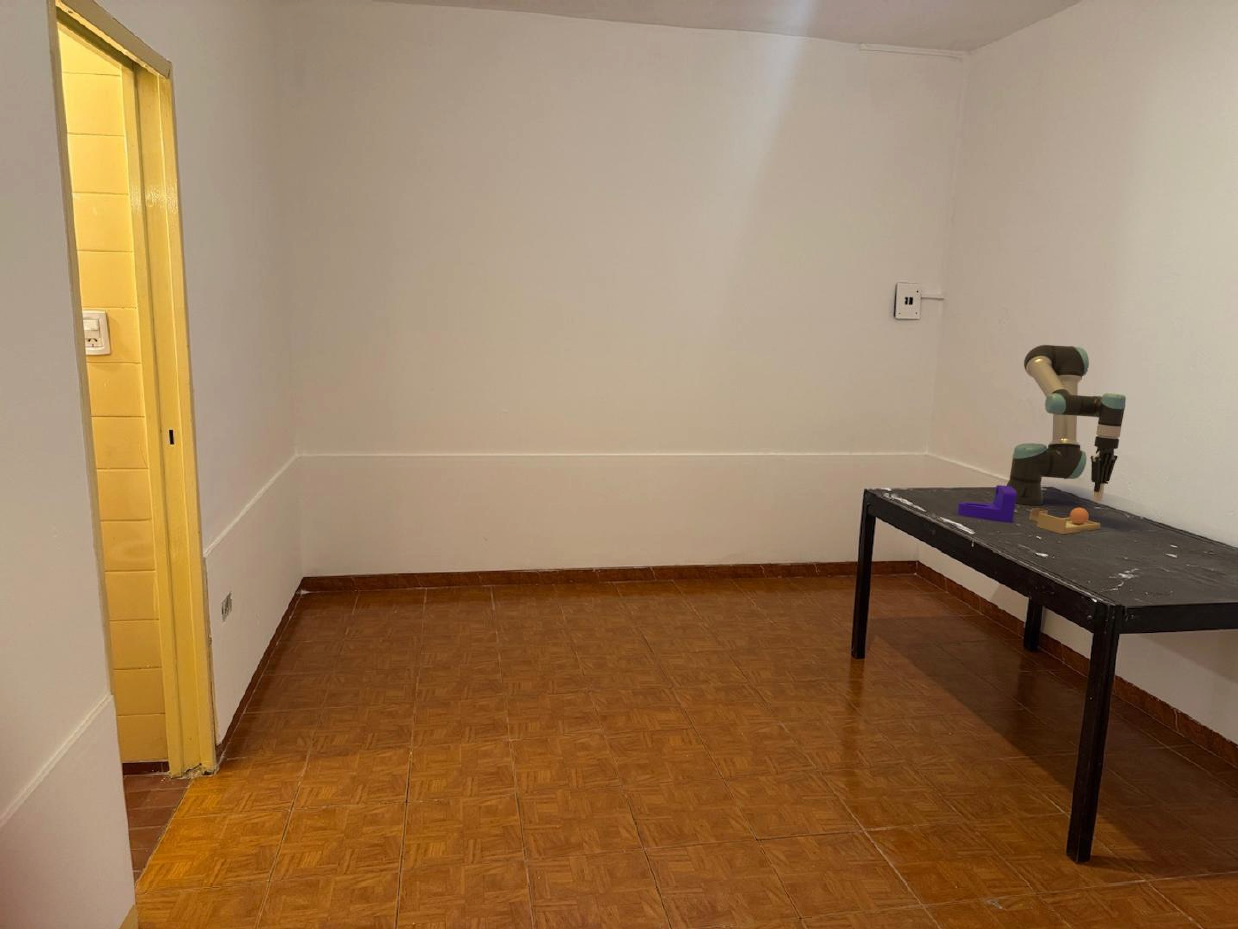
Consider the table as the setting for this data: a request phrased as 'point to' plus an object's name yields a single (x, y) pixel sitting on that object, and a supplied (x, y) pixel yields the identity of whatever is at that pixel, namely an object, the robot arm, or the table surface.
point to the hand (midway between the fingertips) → (1096, 500)
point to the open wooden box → (1036, 513)
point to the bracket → (992, 506)
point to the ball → (1079, 516)
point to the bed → (1064, 524)
